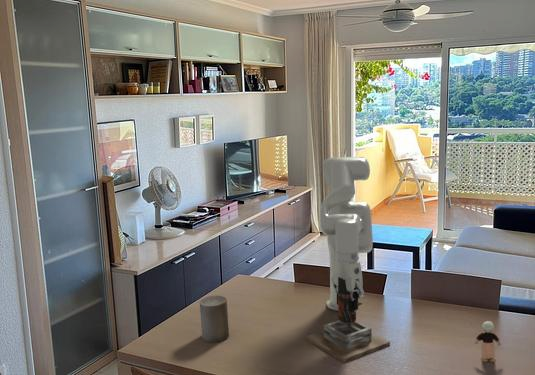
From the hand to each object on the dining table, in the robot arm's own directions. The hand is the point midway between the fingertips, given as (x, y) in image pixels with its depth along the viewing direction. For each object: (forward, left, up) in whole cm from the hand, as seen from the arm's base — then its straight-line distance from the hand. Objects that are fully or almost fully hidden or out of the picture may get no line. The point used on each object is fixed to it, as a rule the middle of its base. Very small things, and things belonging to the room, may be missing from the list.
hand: (347, 306), depth 177 cm
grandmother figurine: (-27, +35, -13) cm, 46 cm away
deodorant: (0, 0, -5) cm, 5 cm away
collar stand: (0, 0, -13) cm, 13 cm away
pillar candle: (+35, -31, -13) cm, 49 cm away
